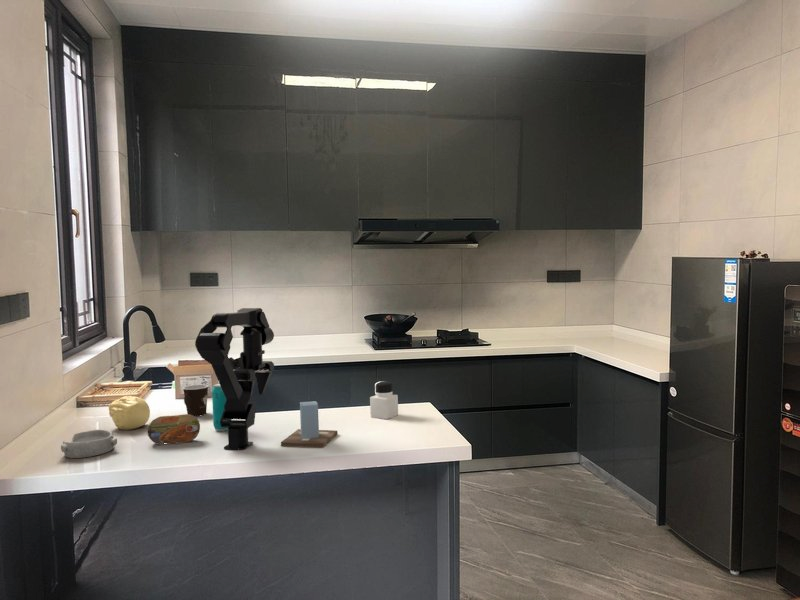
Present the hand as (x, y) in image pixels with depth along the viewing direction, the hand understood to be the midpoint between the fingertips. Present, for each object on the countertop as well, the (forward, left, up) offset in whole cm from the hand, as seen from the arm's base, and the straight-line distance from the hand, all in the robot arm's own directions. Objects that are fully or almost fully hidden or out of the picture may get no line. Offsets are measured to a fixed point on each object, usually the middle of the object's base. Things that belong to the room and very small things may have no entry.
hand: (254, 397), depth 193 cm
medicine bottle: (+28, -35, -12) cm, 46 cm away
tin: (-10, +22, -12) cm, 27 cm away
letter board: (-3, -19, -12) cm, 23 cm away
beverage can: (+5, +14, -12) cm, 19 cm away
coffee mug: (+22, +34, -12) cm, 42 cm away
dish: (-22, +42, -12) cm, 49 cm away
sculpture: (+4, +47, -12) cm, 49 cm away
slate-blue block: (-3, -19, -11) cm, 22 cm away
